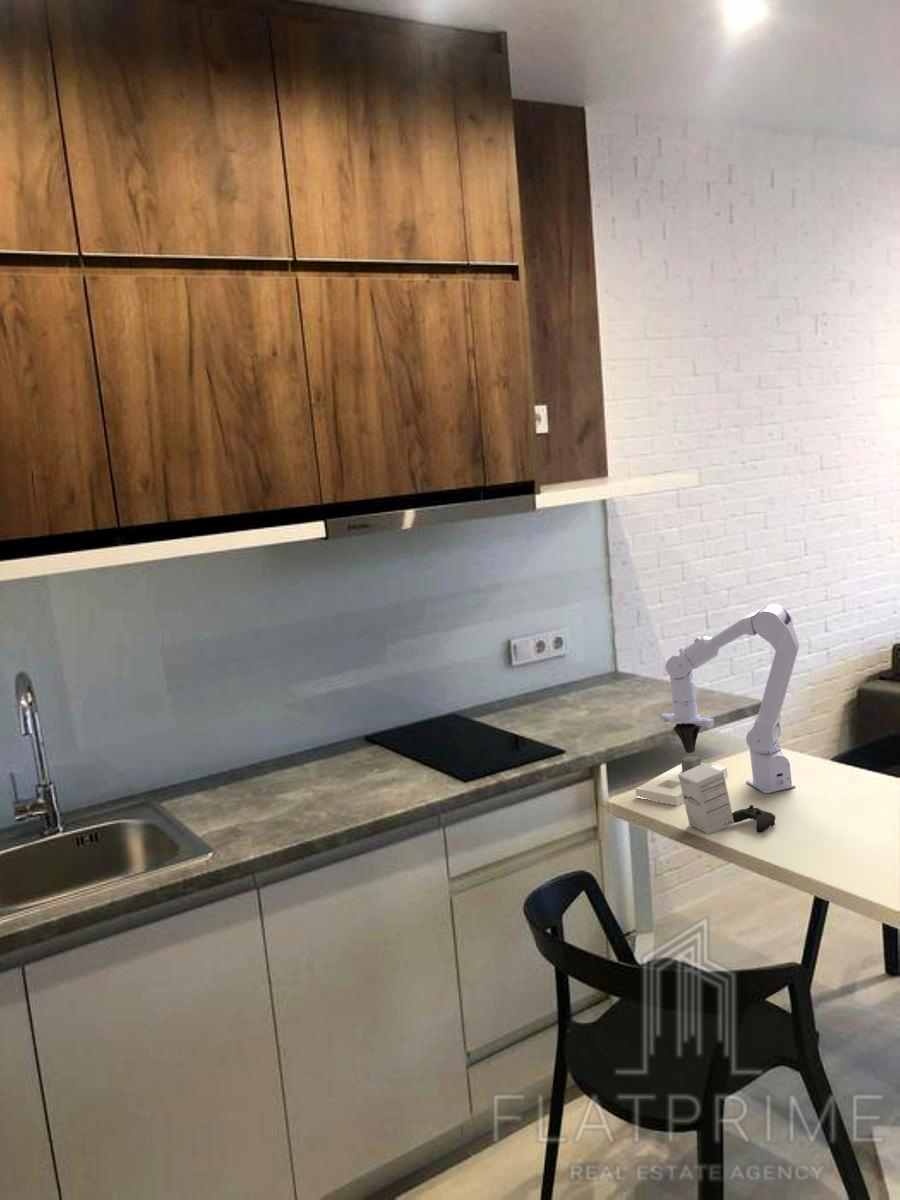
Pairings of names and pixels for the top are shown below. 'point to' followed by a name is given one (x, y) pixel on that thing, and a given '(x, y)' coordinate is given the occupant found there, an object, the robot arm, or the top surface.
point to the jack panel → (668, 786)
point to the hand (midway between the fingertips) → (690, 751)
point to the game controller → (755, 817)
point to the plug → (690, 763)
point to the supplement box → (706, 798)
